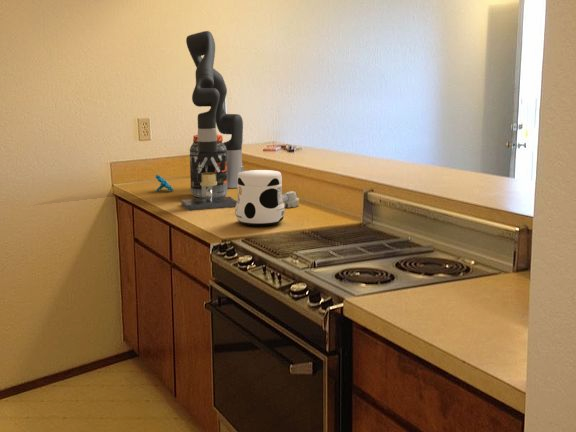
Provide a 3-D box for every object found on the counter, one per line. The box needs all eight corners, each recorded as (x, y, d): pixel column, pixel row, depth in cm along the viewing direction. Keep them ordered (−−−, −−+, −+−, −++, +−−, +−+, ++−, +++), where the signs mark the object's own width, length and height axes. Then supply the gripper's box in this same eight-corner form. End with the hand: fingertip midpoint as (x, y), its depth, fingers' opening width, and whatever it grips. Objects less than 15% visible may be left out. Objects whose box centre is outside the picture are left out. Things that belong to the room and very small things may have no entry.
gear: (171, 189, 309) (155, 173, 309) (162, 199, 310) (146, 183, 310) (176, 188, 320) (160, 173, 320) (167, 198, 321) (151, 182, 321)
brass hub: (214, 183, 284) (214, 171, 284) (218, 185, 279) (218, 174, 278) (198, 184, 282) (198, 172, 281) (202, 186, 276) (202, 175, 276)
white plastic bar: (237, 201, 270) (293, 187, 282) (240, 218, 272) (295, 203, 284) (244, 204, 266) (300, 189, 277) (246, 221, 268) (302, 205, 279)
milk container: (229, 220, 255) (228, 171, 251) (273, 216, 262) (273, 168, 258) (245, 230, 239) (244, 178, 236) (292, 226, 246) (292, 174, 242)
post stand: (229, 201, 291) (229, 185, 290) (237, 206, 280) (237, 190, 279) (181, 204, 284) (180, 188, 283) (187, 210, 273) (187, 193, 272)
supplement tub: (217, 199, 294) (215, 137, 289) (184, 197, 300) (182, 136, 295) (233, 193, 309) (232, 134, 303) (202, 191, 315) (200, 133, 309)
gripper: (222, 138, 283) (223, 179, 286) (187, 139, 278) (188, 181, 281) (227, 140, 276) (228, 182, 279) (191, 141, 271) (192, 184, 274)
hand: (208, 181), depth 280 cm, fingers closed on brass hub, 6 cm apart
